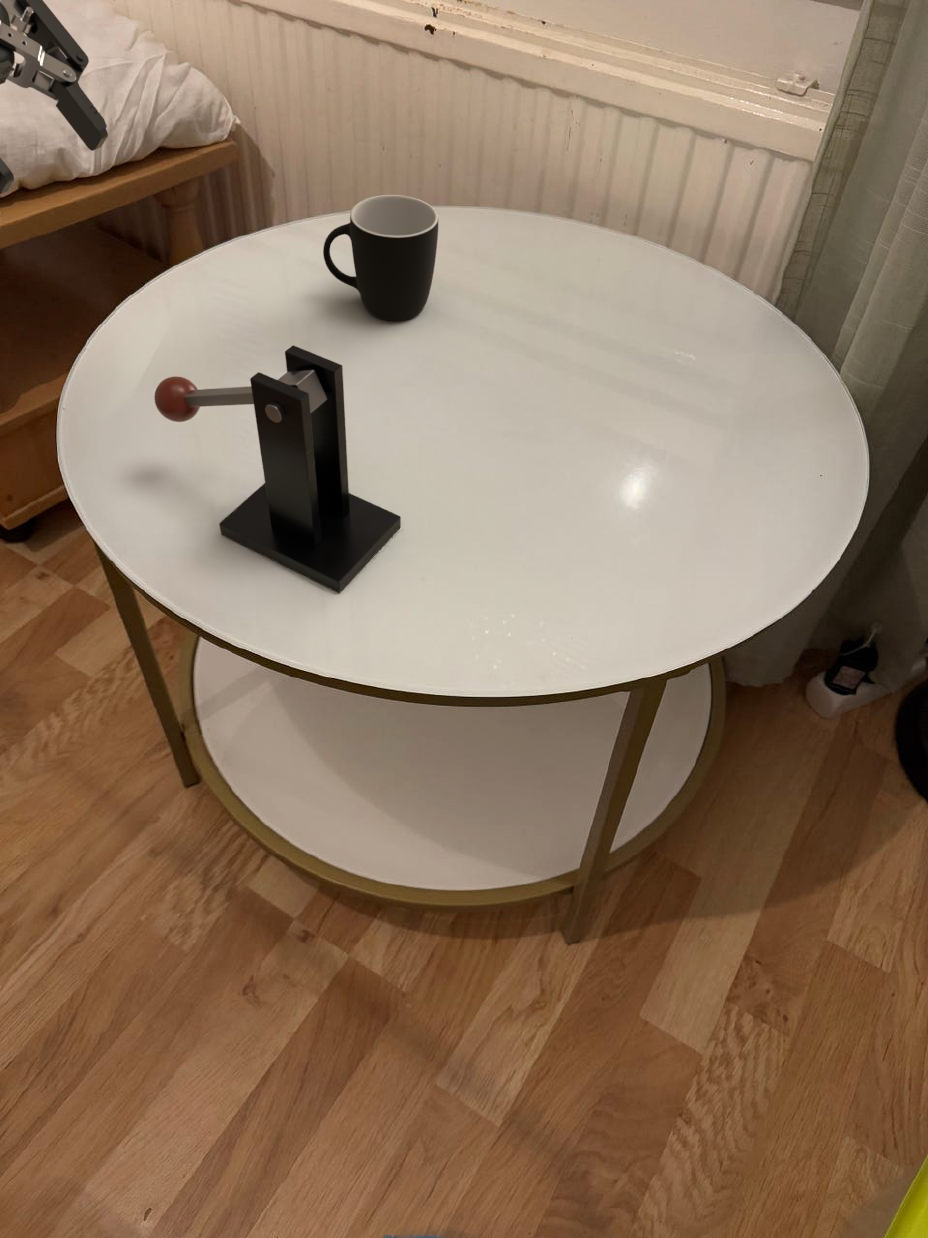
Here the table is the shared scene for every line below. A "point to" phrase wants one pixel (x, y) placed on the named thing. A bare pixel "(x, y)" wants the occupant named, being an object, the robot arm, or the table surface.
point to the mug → (390, 254)
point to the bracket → (307, 483)
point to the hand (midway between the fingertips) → (56, 164)
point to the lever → (224, 395)
